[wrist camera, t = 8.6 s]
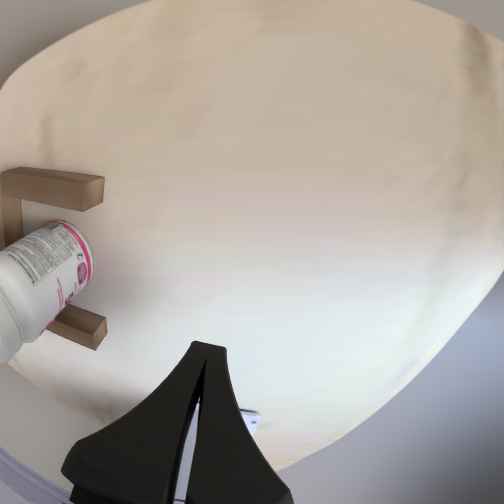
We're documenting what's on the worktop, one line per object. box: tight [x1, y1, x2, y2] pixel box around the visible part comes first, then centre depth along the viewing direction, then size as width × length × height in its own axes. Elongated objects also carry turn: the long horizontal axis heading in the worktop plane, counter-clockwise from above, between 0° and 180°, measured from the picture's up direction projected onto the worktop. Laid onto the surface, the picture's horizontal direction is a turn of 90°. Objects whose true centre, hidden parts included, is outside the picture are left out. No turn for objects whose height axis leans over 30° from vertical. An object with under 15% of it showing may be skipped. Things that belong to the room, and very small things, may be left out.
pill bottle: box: [0, 221, 93, 363], centre depth 11 cm, size 5×5×8 cm
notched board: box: [0, 167, 107, 351], centre depth 13 cm, size 11×10×2 cm
